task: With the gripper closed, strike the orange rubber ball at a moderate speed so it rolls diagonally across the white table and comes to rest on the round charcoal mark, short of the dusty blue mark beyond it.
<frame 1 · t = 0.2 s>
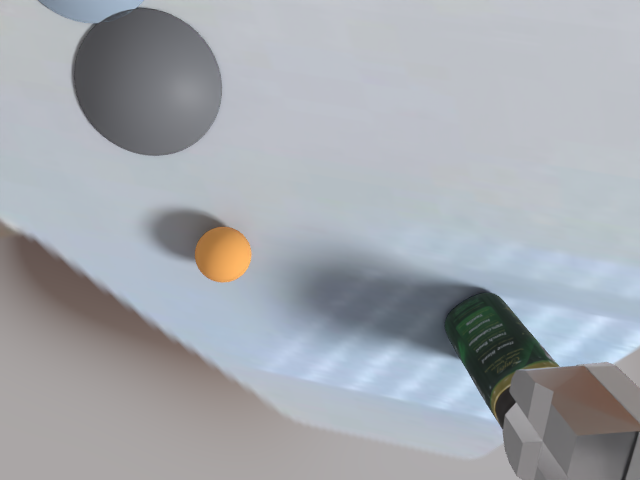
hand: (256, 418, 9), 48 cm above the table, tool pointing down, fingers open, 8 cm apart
ball: (223, 254, 56), on the table
coffee jar: (478, 326, 66), on the table
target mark: (149, 85, 52), on the table
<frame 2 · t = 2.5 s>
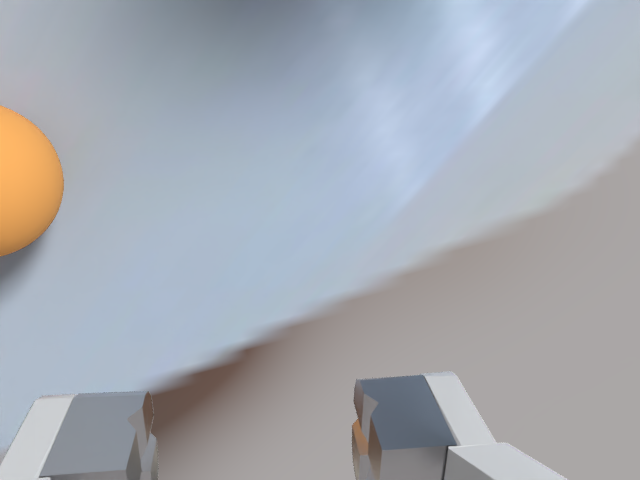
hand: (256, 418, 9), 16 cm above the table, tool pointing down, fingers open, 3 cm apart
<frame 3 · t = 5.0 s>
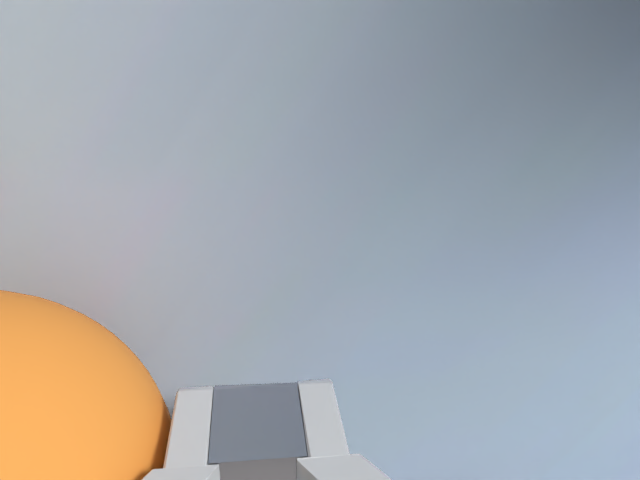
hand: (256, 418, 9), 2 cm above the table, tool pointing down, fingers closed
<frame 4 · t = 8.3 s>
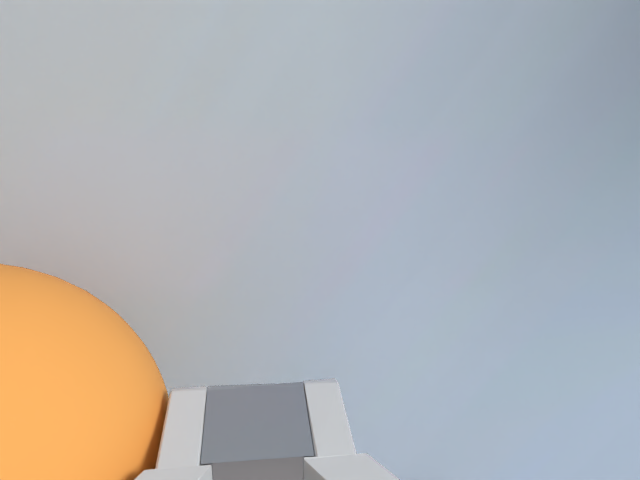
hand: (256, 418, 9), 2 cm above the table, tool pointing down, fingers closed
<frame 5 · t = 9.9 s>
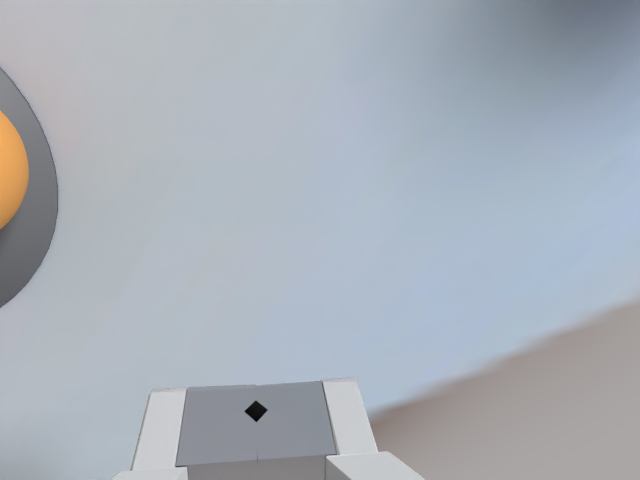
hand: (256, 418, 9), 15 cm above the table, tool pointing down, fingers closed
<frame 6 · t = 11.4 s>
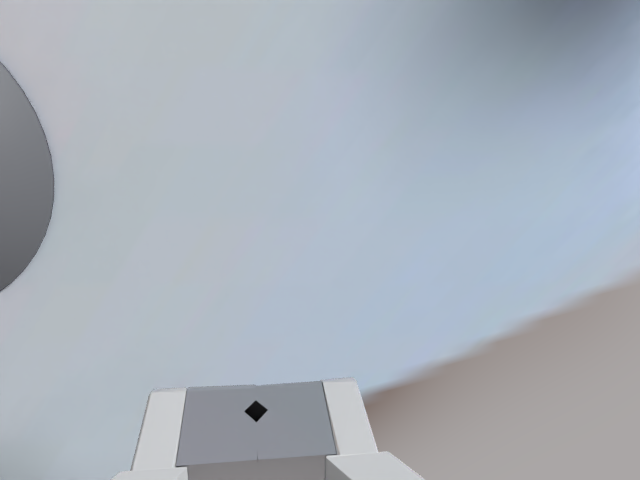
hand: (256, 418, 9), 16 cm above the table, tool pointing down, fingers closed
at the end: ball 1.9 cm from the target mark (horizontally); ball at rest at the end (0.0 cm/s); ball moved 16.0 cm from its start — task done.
